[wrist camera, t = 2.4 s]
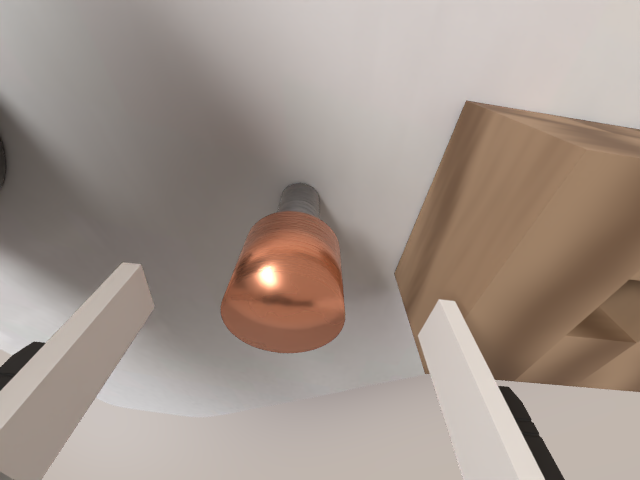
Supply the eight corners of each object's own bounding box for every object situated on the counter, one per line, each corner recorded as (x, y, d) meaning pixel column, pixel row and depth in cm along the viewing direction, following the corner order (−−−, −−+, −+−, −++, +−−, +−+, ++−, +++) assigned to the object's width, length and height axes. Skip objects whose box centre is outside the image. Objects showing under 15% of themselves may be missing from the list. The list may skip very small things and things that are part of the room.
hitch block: (394, 273, 24) (425, 373, 17) (466, 100, 16) (586, 149, 9) (560, 292, 25) (655, 393, 18) (705, 140, 17) (988, 213, 10)
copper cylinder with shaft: (263, 225, 21) (224, 347, 13) (265, 161, 18) (215, 265, 10) (329, 233, 22) (333, 357, 13) (341, 172, 19) (357, 281, 10)
